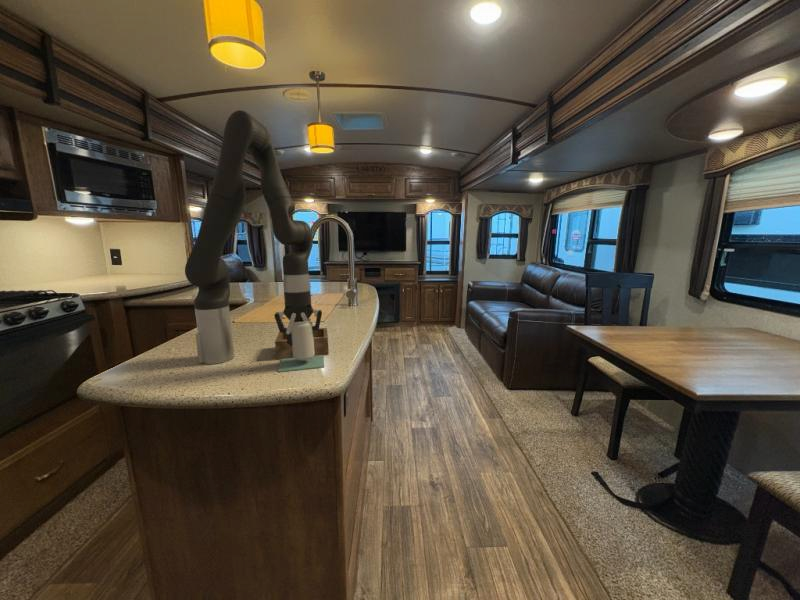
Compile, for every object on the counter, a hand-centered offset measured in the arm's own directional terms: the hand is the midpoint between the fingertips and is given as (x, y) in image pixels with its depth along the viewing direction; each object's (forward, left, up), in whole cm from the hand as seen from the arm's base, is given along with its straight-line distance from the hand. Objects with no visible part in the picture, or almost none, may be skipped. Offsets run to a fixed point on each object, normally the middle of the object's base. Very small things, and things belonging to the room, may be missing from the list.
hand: (300, 344), depth 94 cm
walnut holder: (0, +12, -6) cm, 14 cm away
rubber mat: (0, 0, -6) cm, 6 cm away
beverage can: (+1, 0, -5) cm, 5 cm away
